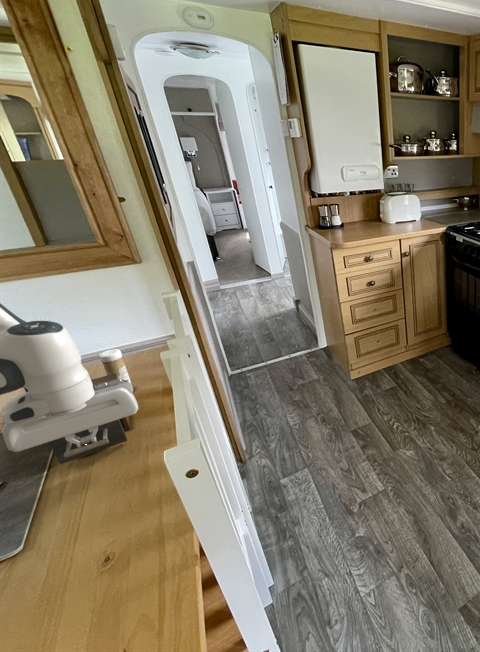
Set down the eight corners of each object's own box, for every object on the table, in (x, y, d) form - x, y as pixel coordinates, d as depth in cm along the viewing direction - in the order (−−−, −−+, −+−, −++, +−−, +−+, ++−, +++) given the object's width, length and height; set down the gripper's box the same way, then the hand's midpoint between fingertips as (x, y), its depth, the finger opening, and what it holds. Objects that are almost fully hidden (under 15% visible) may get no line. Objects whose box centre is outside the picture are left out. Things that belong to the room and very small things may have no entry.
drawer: (128, 453, 88) (117, 427, 85) (58, 479, 81) (43, 451, 78) (125, 413, 102) (115, 388, 99) (64, 432, 94) (52, 406, 91)
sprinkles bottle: (109, 396, 110) (93, 356, 105) (122, 387, 114) (107, 348, 109) (126, 396, 110) (110, 356, 105) (138, 387, 114) (124, 348, 109)
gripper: (128, 370, 88) (145, 418, 93) (-5, 405, 75) (23, 458, 80) (129, 382, 84) (148, 431, 89) (-12, 421, 71) (19, 476, 76)
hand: (88, 444), depth 84 cm, fingers closed, pressing on drawer
